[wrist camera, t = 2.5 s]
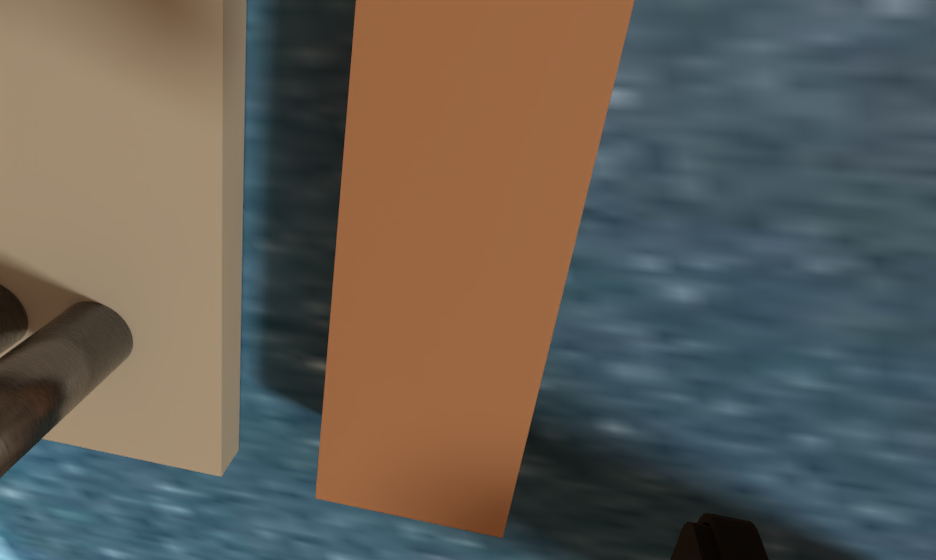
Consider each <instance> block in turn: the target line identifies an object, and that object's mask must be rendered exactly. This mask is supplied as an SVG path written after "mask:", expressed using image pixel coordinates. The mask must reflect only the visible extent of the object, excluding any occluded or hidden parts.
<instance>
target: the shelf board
mask: <svg viewBox="0 0 936 560" xmlns="http://www.w3.org/2000/svg"><path fill="white" fill-rule="evenodd" d="M633 4H634V0H356V7H355V20H354V32H353V44H352V56H351V69H350V81H349V93H348V105H347V118H346V130H345V142H344V154H343V167H342V179H341V191H340V203H339V216H338V228H337V240H336V252H335V265H334V277H333V289H332V301H331V314H330V326H329V338H328V350H327V363H326V375H325V387H324V399H323V412H322V424H321V436H320V448H319V461H318V473H317V485H316V497H315V498H316V499H321V500H326V501H331V502H335V503H340V504H345V505H349V506H354V507H359V508H363V509H368V510H373V511H378V512H382V513H387V514H392V515H396V516H401V517H406V518H411V519H415V520H420V521H425V522H429V523H434V524H439V525H443V526H448V527H453V528H458V529H462V530H467V531H472V532H476V533H481V534H486V535H491V536H495V537H500V538H503V534H504V530H505V526H506V522H507V518H508V514H509V510H510V506H511V502H512V498H513V493H514V489H515V485H516V481H517V477H518V473H519V469H520V465H521V461H522V457H523V453H524V449H525V445H526V440H527V436H528V432H529V428H530V424H531V420H532V416H533V412H534V408H535V404H536V400H537V396H538V392H539V387H540V383H541V379H542V375H543V371H544V367H545V363H546V359H547V355H548V351H549V347H550V343H551V338H552V334H553V330H554V326H555V322H556V318H557V314H558V310H559V306H560V302H561V298H562V294H563V290H564V285H565V281H566V277H567V273H568V269H569V265H570V261H571V257H572V253H573V249H574V245H575V241H576V237H577V232H578V228H579V224H580V220H581V216H582V212H583V208H584V204H585V200H586V196H587V192H588V188H589V183H590V179H591V175H592V171H593V167H594V163H595V159H596V155H597V151H598V147H599V143H600V139H601V135H602V130H603V126H604V122H605V118H606V114H607V110H608V106H609V102H610V98H611V94H612V90H613V86H614V82H615V77H616V73H617V69H618V65H619V61H620V57H621V53H622V49H623V45H624V41H625V37H626V33H627V28H628V24H629V20H630V16H631V12H632V8H633Z"/></svg>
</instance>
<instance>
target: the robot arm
mask: <svg viewBox="0 0 936 560" xmlns="http://www.w3.org/2000/svg"><path fill="white" fill-rule="evenodd" d="M671 560H769V559H768V557H767V554H766V551H765V549H764V546H763V543H762V541H761V538H760V535H759V533H758V530H757V529H756V527H755V525H754V524H753V523H752V522H750V521H745V520H740V519H735V518H730V517H725V516H720V515H715V514H709V513H705V514H703V515H702V516H701V517H700V519H699V521H698V523H693V522H687V523H686V524H685V525H684V527H683V529H682V531H681V533H680V536H679V539H678V541H677V544H676V547H675V549H674V552H673V554H672V557H671Z"/></svg>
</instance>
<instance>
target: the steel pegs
mask: <svg viewBox="0 0 936 560" xmlns="http://www.w3.org/2000/svg"><path fill="white" fill-rule="evenodd" d="M27 329H28V318H27V314H26V311H25V309H24V307H23V305H22V304H21V302H20V301H19V299H18V298H17V297H16V296H15V295H14V294H13V293H12V292H11V291H9V290H8V289H7V288H5V287H3V286H2V285H0V354H1V353H3V352H4V351H6V350H7V349H8V348H10V347H11V346H12V345H14V344H15V343H17V342H18V341H19V340H21V339H22V338H23V337H24V336H25V334H26V332H27ZM132 348H133V337H132V333H131V331H130V328H129V327H128V325H127V323H126V322H125V320H124V319H123V318H122V317H121V316H120V315H119V314H118V313H117V312H115V311H114V310H113V309H111V308H109V307H107V306H105V305H103V304H100V303H97V302H91V301H84V302H79V303H76V304H74V305H72V306H71V307H69V308H68V309H66V310H65V311H64V312H62V313H61V314H60V315H58V316H57V317H55V318H54V319H53V320H51V321H50V322H49V323H47V324H46V325H45V326H43V327H42V328H40V329H39V330H38V331H36V332H35V333H34V334H32V335H31V336H29V337H28V338H27V339H25V340H24V341H23V342H21V343H20V344H18V345H17V346H16V347H14V348H13V349H12V350H10V351H9V352H7V353H6V354H5V355H3V356H2V357H1V358H0V478H1V477H2V476H3V475H4V474H5V473H6V472H7V471H8V470H9V469H10V468H11V467H12V466H13V465H14V464H15V463H16V462H18V461H19V460H20V459H21V458H22V457H23V456H24V455H25V454H26V453H27V452H28V451H29V450H30V449H31V448H32V447H33V446H35V445H36V444H37V443H38V442H39V441H40V440H41V439H42V438H43V437H44V436H45V435H46V434H47V433H48V432H49V431H50V430H52V429H53V428H54V427H55V426H56V425H57V424H58V423H59V422H60V421H61V420H62V419H63V418H64V417H65V416H66V415H67V414H68V413H70V412H71V411H72V410H73V409H74V408H75V407H76V406H77V405H78V404H79V403H80V402H81V401H82V400H83V399H84V398H85V397H87V396H88V395H89V394H90V393H91V392H92V391H93V390H94V389H95V388H96V387H97V386H98V385H99V384H100V383H101V382H102V381H104V380H105V379H106V378H107V377H108V376H109V375H110V374H111V373H112V372H113V371H114V370H115V369H116V368H117V367H118V366H119V365H121V364H122V363H123V362H124V361H125V360H126V359H127V358H128V357H129V355H130V354H131V351H132Z"/></svg>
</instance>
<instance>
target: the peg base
mask: <svg viewBox="0 0 936 560" xmlns="http://www.w3.org/2000/svg"><path fill="white" fill-rule="evenodd" d="M245 55H246V0H0V285H2V286H3V287H5V288H7V289H8V290H9V291H11V292H12V293H13V294H14V295H15V296H16V297H17V298H18V299H19V301H20V302H21V304H22V305H23V307H24V309H25V311H26V314H27V318H28V329H27V332H26V334H25V336H24V337H23V338H22V339H21V340H19V341H18V342H17V343H15V344H14V345H12V346H11V347H10V348H8V349H7V350H6V351H4V352H3V353H1V354H0V358H1V357H2V356H3V355H5V354H6V353H7V352H9V351H10V350H12V349H13V348H14V347H16V346H17V345H18V344H20V343H21V342H23V341H24V340H25V339H27V338H28V337H29V336H31V335H32V334H34V333H35V332H36V331H38V330H39V329H40V328H42V327H43V326H45V325H46V324H47V323H49V322H50V321H51V320H53V319H54V318H55V317H57V316H58V315H60V314H61V313H62V312H64V311H65V310H66V309H68V308H69V307H71V306H72V305H74V304H76V303H79V302H84V301H91V302H97V303H100V304H103V305H105V306H107V307H109V308H111V309H113V310H114V311H115V312H117V313H118V314H119V315H120V316H121V317H122V318H123V319H124V320H125V322H126V323H127V325H128V327H129V328H130V331H131V333H132V337H133V348H132V351H131V354H130V355H129V357H128V358H127V359H126V360H125V361H124V362H123V363H122V364H121V365H119V366H118V367H117V368H116V369H115V370H114V371H113V372H112V373H111V374H110V375H109V376H108V377H107V378H106V379H105V380H104V381H102V382H101V383H100V384H99V385H98V386H97V387H96V388H95V389H94V390H93V391H92V392H91V393H90V394H89V395H88V396H87V397H85V398H84V399H83V400H82V401H81V402H80V403H79V404H78V405H77V406H76V407H75V408H74V409H73V410H72V411H71V412H70V413H68V414H67V415H66V416H65V417H64V418H63V419H62V420H61V421H60V422H59V423H58V424H57V425H56V426H55V427H54V428H53V429H52V430H50V431H49V432H48V433H47V434H46V435H45V436H44V437H43V438H42V439H46V440H51V441H56V442H60V443H65V444H70V445H74V446H79V447H84V448H89V449H93V450H98V451H103V452H107V453H112V454H117V455H122V456H126V457H131V458H136V459H140V460H145V461H150V462H155V463H159V464H164V465H169V466H173V467H178V468H183V469H188V470H192V471H197V472H202V473H206V474H211V475H216V476H222V475H223V473H224V472H225V470H226V469H227V467H228V466H229V464H230V462H231V461H232V459H233V458H234V456H235V455H236V453H237V452H238V450H239V406H240V348H241V289H242V231H243V172H244V114H245Z"/></svg>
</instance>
